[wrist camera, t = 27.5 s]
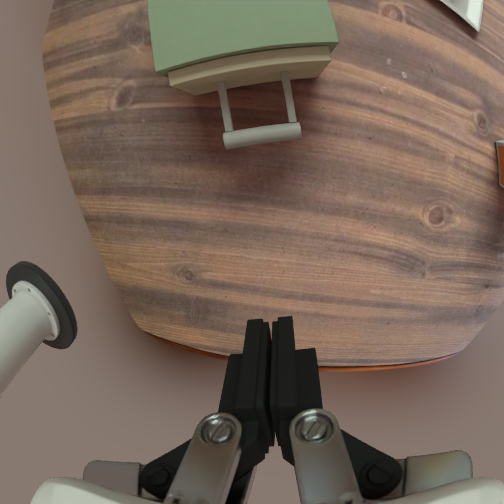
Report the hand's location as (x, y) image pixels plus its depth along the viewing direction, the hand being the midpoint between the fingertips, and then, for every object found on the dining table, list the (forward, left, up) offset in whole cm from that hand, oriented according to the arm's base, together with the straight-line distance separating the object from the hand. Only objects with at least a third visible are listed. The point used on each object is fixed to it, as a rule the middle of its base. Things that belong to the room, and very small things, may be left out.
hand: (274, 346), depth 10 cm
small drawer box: (0, +21, -19) cm, 28 cm away
